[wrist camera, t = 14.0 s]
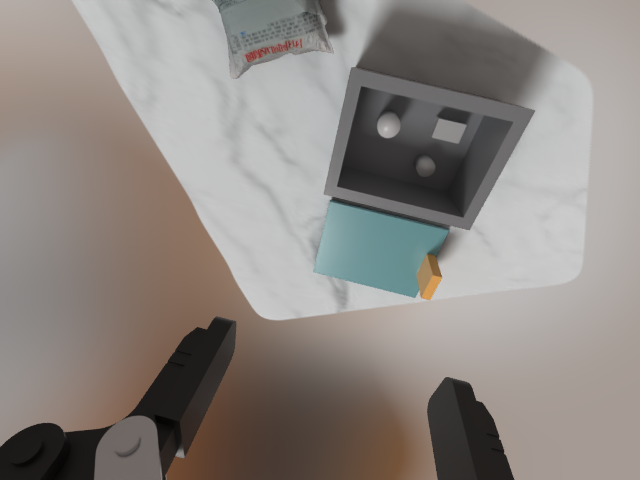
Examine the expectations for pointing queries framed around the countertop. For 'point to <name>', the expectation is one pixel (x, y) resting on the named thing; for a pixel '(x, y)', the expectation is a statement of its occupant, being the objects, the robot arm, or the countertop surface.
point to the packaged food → (271, 30)
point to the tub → (421, 147)
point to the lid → (380, 250)
